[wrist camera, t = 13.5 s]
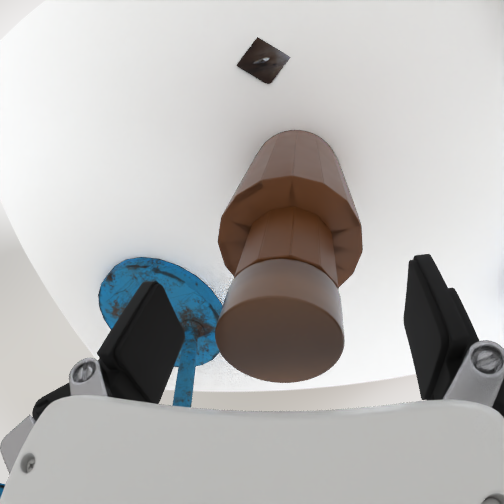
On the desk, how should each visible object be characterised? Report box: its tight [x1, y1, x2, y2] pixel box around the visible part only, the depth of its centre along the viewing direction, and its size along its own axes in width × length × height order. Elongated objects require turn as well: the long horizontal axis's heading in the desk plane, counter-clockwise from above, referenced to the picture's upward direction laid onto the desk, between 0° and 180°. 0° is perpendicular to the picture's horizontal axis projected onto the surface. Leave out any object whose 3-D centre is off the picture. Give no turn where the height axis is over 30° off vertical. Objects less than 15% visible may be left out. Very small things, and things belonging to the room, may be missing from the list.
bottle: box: [218, 130, 363, 289], centre depth 18 cm, size 7×7×16 cm
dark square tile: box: [237, 37, 290, 84], centre depth 20 cm, size 3×3×1 cm
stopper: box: [215, 259, 344, 383], centre depth 12 cm, size 4×4×5 cm
